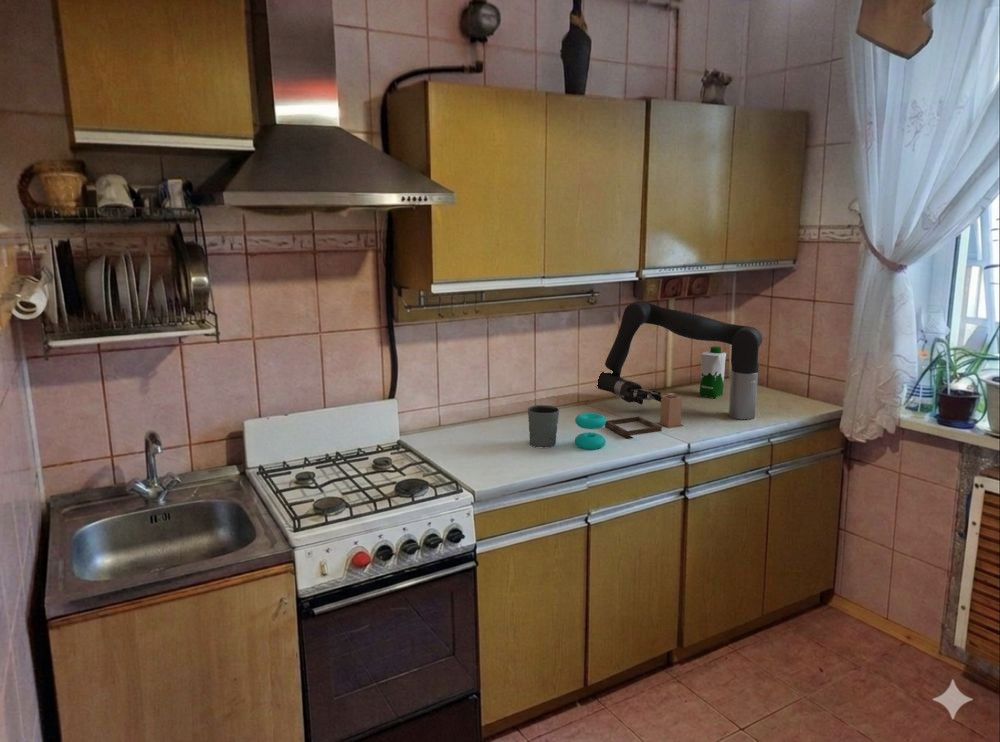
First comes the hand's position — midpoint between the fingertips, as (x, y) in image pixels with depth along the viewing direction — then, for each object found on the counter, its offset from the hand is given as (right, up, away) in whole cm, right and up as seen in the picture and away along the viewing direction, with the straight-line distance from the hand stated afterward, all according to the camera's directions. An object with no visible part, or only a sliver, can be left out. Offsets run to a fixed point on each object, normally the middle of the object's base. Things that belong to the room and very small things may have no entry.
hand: (652, 400), depth 255 cm
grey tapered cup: (-42, -13, -25) cm, 50 cm away
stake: (+4, -9, -9) cm, 13 cm away
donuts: (-26, -14, -27) cm, 40 cm away
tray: (-10, -10, -12) cm, 18 cm away
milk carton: (+31, 0, +33) cm, 46 cm away
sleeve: (+4, -8, -9) cm, 13 cm away
